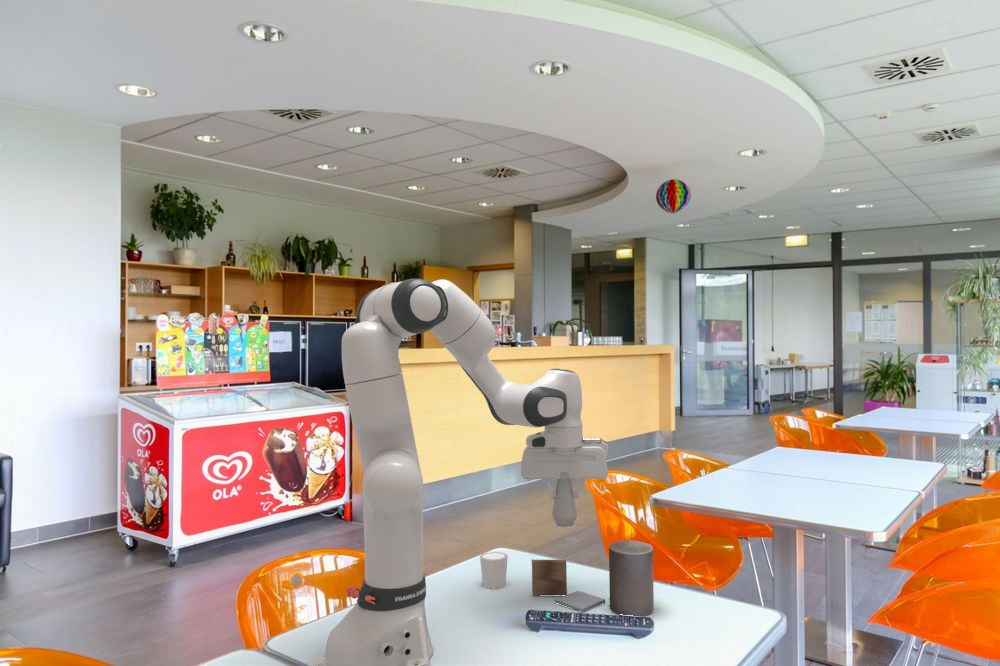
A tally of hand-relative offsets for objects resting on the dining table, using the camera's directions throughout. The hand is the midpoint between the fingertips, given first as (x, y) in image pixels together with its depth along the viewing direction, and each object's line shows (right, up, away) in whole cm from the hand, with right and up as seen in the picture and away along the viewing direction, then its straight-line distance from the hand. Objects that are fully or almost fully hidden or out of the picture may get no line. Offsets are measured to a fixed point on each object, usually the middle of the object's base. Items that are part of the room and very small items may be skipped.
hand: (564, 497), depth 159 cm
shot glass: (-16, -24, +9) cm, 30 cm away
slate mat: (+3, -23, -5) cm, 23 cm away
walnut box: (-3, -23, +1) cm, 23 cm away
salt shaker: (0, -6, 0) cm, 6 cm away
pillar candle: (+14, -23, -9) cm, 28 cm away
